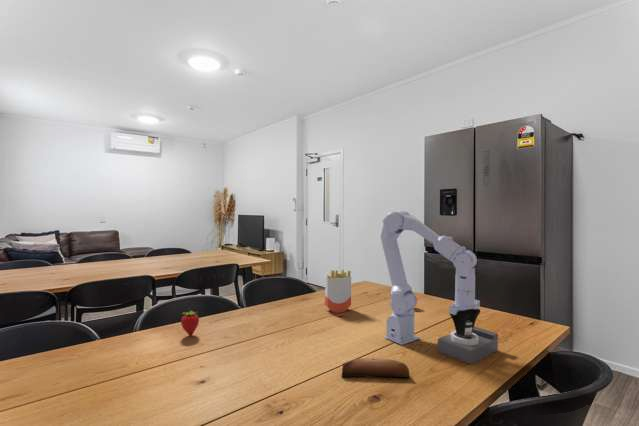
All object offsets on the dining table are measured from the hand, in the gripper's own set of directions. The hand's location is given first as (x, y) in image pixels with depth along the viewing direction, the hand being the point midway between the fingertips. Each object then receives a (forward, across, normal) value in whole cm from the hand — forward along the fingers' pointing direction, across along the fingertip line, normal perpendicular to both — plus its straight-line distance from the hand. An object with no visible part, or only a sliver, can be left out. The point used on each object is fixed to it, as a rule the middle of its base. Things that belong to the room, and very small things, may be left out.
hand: (464, 332), depth 106 cm
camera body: (+6, +2, 0) cm, 7 cm away
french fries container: (+6, -4, +57) cm, 57 cm away
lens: (+1, 0, 0) cm, 1 cm away
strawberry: (+6, -65, +65) cm, 92 cm away
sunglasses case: (+7, -32, +8) cm, 34 cm away
